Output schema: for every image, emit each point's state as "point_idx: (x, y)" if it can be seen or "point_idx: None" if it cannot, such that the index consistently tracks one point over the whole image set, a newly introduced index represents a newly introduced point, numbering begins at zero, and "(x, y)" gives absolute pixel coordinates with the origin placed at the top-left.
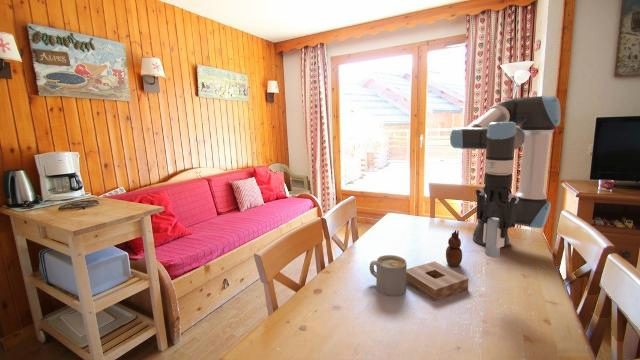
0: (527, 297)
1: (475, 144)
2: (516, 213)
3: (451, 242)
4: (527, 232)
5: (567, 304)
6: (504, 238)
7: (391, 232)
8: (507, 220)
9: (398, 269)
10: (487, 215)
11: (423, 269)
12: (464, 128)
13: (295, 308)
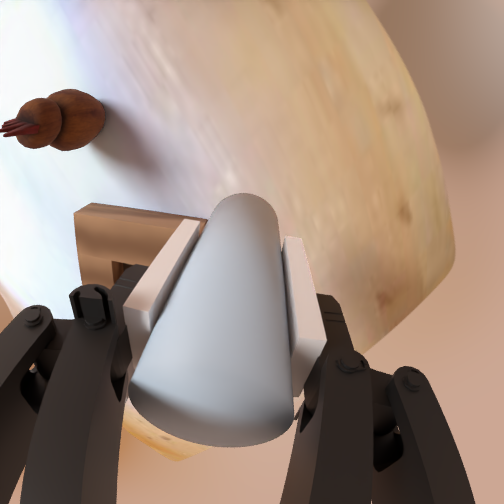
0: (341, 126)
1: None
2: None
3: (35, 148)
4: None
5: (417, 93)
6: (308, 266)
7: None
8: (376, 475)
9: (128, 395)
10: (114, 430)
11: (100, 282)
12: None
13: (128, 425)
